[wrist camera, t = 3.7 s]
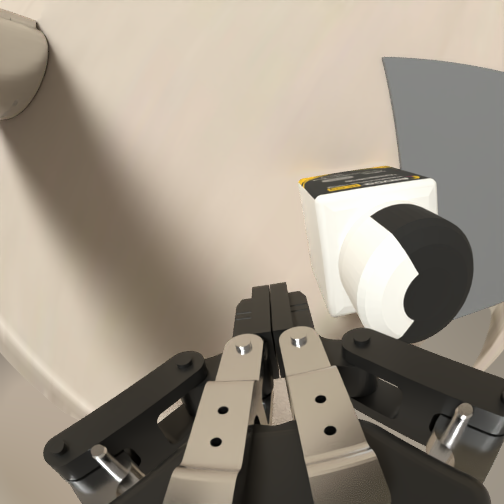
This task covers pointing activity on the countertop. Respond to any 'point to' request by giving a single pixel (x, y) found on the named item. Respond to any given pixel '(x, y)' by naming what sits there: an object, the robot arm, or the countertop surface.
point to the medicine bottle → (386, 251)
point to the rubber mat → (457, 155)
